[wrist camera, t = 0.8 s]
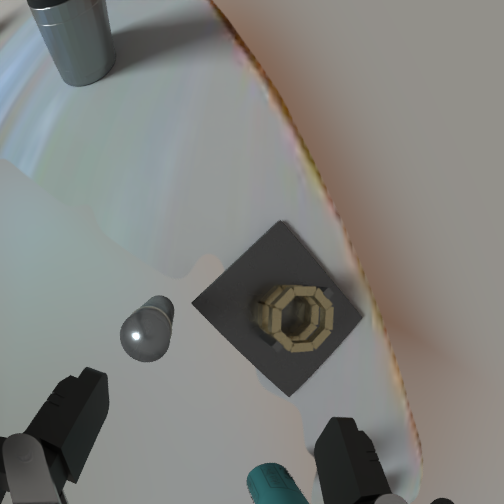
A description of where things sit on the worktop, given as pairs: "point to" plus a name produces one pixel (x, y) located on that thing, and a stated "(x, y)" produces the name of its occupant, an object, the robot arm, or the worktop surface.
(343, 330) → the dark square plate
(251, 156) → the worktop surface
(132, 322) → the glossy dome-topped cylinder
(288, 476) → the beverage bottle
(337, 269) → the worktop surface
